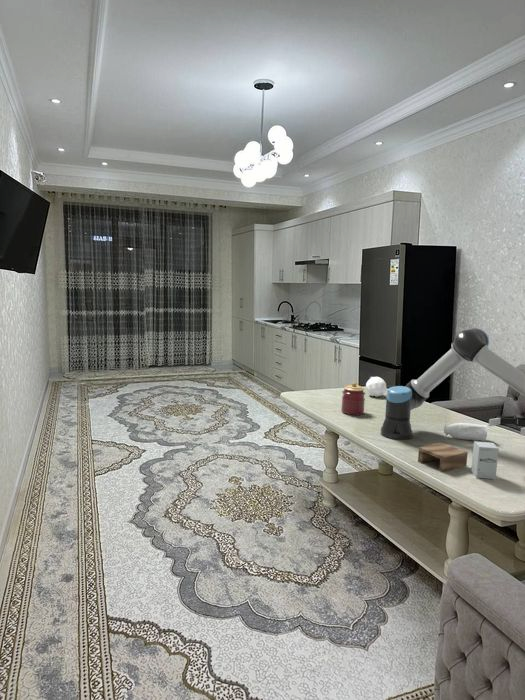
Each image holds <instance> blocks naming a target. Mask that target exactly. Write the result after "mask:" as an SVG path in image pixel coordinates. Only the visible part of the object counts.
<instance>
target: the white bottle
mask: <svg viewBox="0 0 525 700" xmlns="http://www.w3.org/2000/svg"><path fill="white" fill-rule="evenodd" d="M487 431H488V426H487V425H486V424H477V423H468V422H467V423H466V422H456V423H452V424H450V425H446V424H445V425H444V427H443V433H444V434H445V436H448V435H449V436H451V437H452V438H455V439H458V440H466V441H473V442H474V441H477V442H487V441H486V440H487V438H488V432H487Z"/></svg>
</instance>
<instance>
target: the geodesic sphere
mask: <svg viewBox="0 0 525 700" xmlns="http://www.w3.org/2000/svg"><path fill="white" fill-rule="evenodd" d="M365 389H366V390H365V391H366V392H367V394H368V395H370V396H372V397H373V396H375V397H374V398H379V396H380V397H382V396H383V395H384V394H385V392H387V383H386V381H385V380H384V379H383V378H381V377H379V376H377V375H375V376H369V379H368V380H367V381H366V383H365Z"/></svg>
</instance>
